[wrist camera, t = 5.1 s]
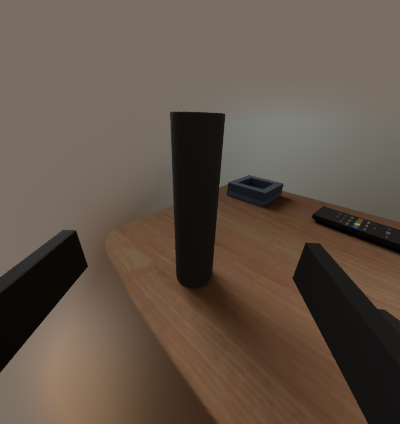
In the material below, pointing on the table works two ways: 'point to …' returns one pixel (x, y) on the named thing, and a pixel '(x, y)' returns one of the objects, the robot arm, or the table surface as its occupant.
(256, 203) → the socket pad
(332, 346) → the robot arm
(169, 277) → the table surface
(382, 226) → the remote control
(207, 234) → the tall dark cylinder
